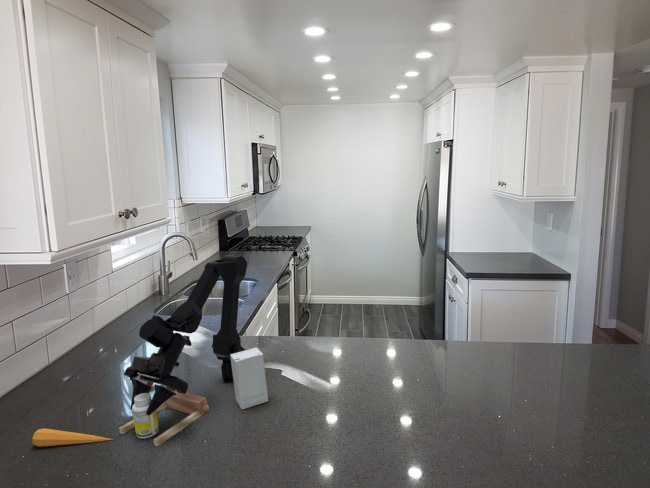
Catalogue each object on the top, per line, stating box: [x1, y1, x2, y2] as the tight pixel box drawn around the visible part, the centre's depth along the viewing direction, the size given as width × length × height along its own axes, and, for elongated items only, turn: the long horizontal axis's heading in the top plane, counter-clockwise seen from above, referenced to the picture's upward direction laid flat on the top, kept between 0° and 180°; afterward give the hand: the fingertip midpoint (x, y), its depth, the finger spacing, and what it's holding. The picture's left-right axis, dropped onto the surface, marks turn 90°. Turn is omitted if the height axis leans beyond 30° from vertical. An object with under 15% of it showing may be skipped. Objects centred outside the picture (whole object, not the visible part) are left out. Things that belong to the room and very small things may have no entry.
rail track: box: [118, 391, 210, 447], centre depth 123 cm, size 18×14×4 cm
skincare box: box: [230, 347, 269, 410], centre depth 129 cm, size 8×6×15 cm
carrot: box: [31, 427, 114, 448], centre depth 116 cm, size 20×4×4 cm, turn 90°
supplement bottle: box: [131, 392, 160, 439], centre depth 117 cm, size 6×6×10 cm
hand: (139, 412), depth 116 cm, fingers closed on supplement bottle, 6 cm apart
